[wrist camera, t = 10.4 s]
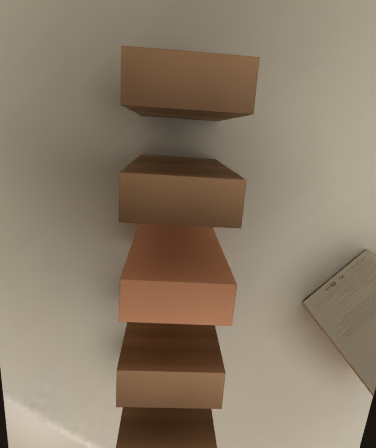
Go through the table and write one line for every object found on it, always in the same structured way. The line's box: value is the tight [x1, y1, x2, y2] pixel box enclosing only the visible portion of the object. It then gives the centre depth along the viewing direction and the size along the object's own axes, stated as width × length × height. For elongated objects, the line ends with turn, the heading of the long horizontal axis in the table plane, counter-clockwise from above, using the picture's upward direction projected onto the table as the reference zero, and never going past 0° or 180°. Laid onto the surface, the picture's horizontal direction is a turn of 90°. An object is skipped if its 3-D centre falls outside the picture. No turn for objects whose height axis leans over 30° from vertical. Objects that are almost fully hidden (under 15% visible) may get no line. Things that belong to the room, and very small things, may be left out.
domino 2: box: [119, 155, 246, 228], centre depth 19 cm, size 2×5×10 cm, turn 87°
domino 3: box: [119, 223, 237, 326], centre depth 20 cm, size 2×5×10 cm, turn 86°
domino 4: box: [116, 322, 225, 409], centre depth 21 cm, size 2×5×10 cm, turn 86°
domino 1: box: [121, 46, 259, 121], centre depth 18 cm, size 2×5×10 cm, turn 86°
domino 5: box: [116, 407, 217, 448], centre depth 22 cm, size 2×5×10 cm, turn 86°
